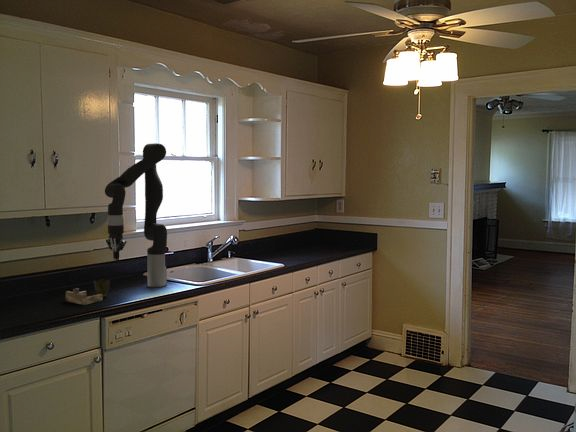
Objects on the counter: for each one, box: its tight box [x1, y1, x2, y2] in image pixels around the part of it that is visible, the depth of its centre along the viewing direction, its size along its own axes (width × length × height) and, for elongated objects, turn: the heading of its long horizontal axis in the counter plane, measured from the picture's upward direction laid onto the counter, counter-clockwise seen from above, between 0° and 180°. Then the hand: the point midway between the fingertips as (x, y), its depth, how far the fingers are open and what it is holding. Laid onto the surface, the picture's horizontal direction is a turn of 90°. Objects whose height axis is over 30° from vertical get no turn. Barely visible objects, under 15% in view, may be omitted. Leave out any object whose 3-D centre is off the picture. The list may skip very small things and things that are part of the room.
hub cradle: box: [65, 287, 104, 306], centre depth 261 cm, size 11×13×6 cm
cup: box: [93, 278, 111, 298], centre depth 270 cm, size 8×7×8 cm
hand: (116, 258), depth 277 cm, fingers closed
